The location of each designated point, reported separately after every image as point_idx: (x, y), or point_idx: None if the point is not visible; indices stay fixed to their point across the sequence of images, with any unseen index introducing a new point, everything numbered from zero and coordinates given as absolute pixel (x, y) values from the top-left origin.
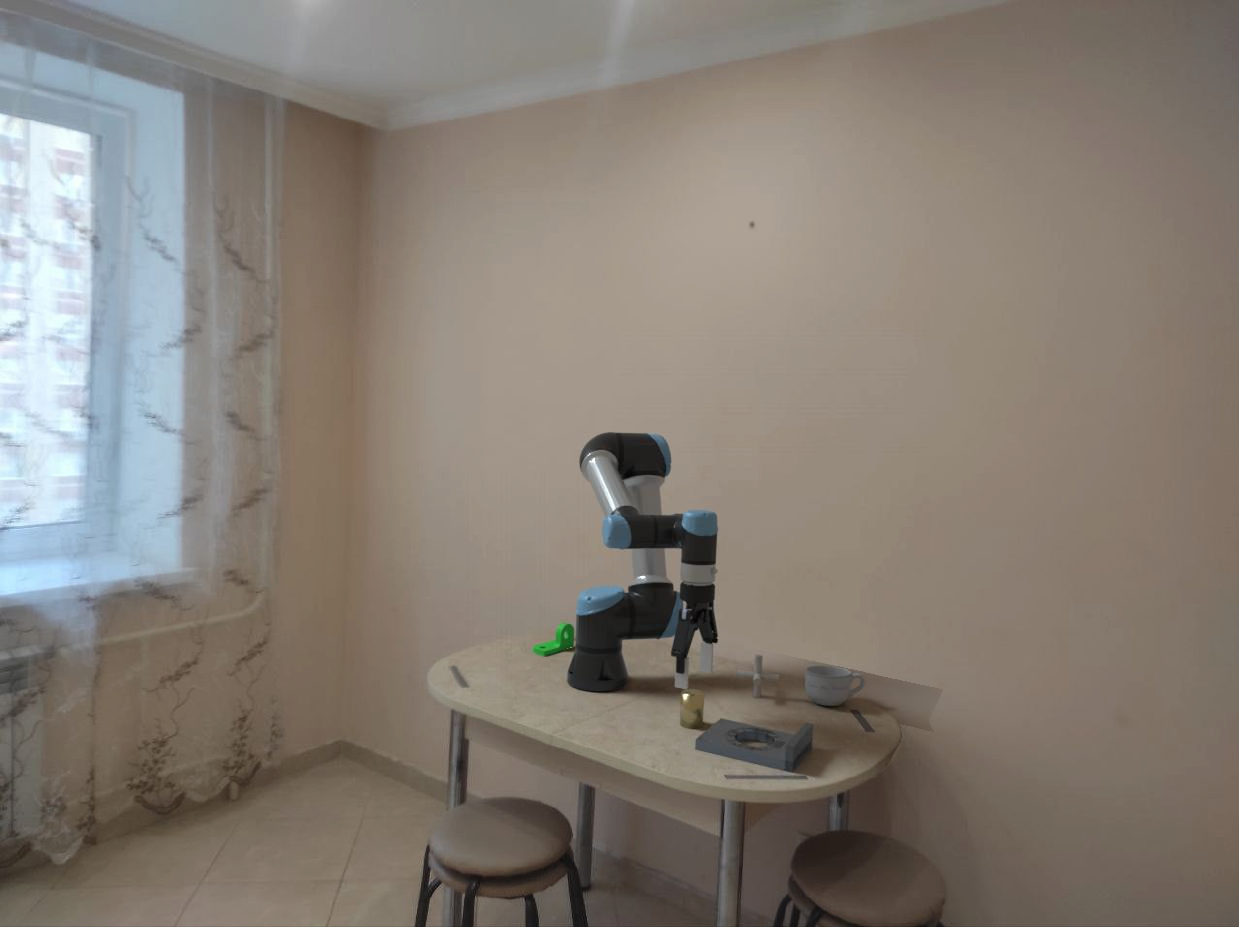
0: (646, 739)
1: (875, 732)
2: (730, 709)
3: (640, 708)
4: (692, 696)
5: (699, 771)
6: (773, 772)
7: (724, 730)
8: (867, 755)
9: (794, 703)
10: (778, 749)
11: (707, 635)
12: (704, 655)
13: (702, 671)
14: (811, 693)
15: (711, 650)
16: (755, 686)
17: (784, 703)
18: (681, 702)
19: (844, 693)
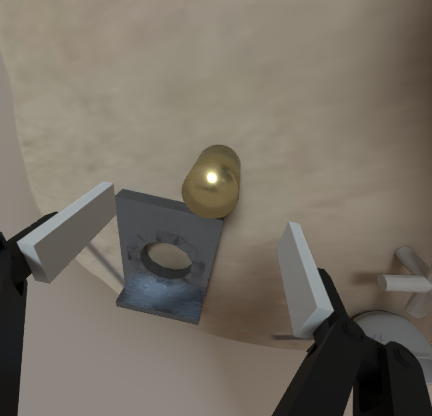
0: (105, 100)
1: (271, 340)
2: (319, 218)
3: (282, 11)
4: (184, 198)
5: (63, 203)
6: (119, 268)
7: (173, 229)
8: (207, 328)
9: (364, 292)
10: (149, 281)
11: (298, 375)
12: (295, 272)
13: (285, 229)
14: (365, 324)
15: (289, 310)
16: (410, 264)
17: (363, 283)
18: (197, 163)
19: None
